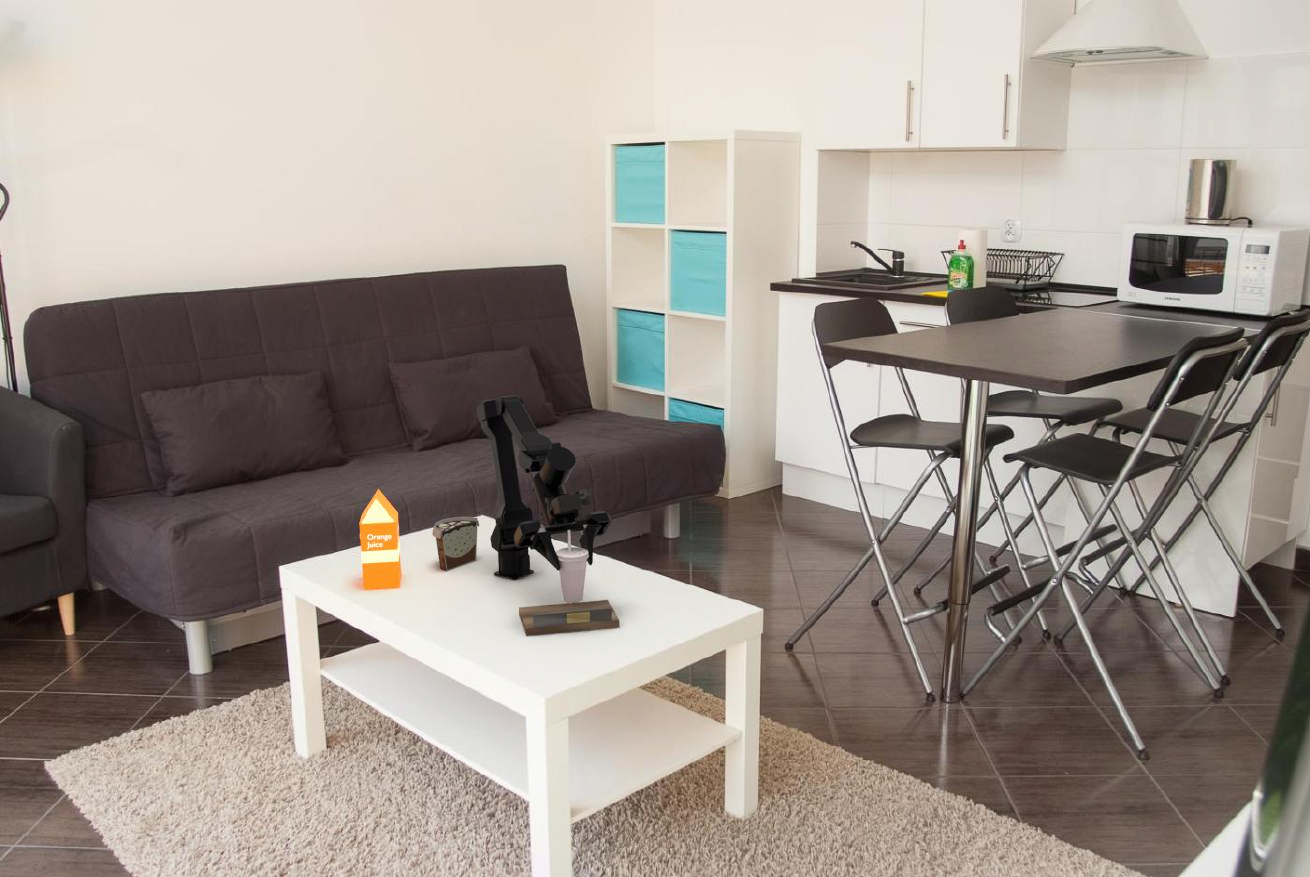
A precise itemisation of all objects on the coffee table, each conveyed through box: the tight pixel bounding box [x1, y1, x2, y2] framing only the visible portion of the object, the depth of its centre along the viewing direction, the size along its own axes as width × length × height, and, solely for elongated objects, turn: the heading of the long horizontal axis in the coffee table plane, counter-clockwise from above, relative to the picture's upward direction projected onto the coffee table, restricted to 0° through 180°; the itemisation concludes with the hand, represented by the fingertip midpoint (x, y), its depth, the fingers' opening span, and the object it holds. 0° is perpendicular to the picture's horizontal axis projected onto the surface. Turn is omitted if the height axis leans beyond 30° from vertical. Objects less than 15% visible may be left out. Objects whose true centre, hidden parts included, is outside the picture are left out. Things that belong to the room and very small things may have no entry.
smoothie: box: [555, 530, 589, 603], centre depth 226 cm, size 6×6×14 cm
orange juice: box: [358, 488, 402, 591], centre depth 251 cm, size 8×9×20 cm
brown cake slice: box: [431, 516, 480, 572], centre depth 265 cm, size 12×6×10 cm, turn 144°
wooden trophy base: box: [518, 599, 620, 637], centre depth 228 cm, size 12×18×4 cm
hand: (575, 566), depth 225 cm, fingers closed on smoothie, 6 cm apart
